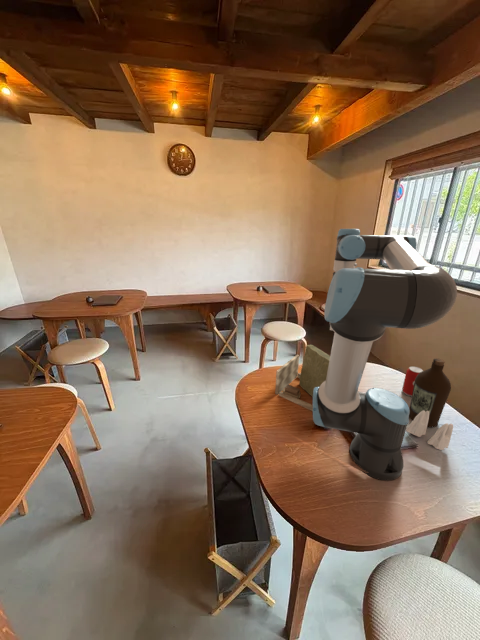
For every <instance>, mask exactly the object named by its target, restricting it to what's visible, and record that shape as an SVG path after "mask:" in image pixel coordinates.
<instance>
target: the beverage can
mask: <svg viewBox="0 0 480 640" xmlns="http://www.w3.org/2000/svg"><path fill="white" fill-rule="evenodd" d="M422 371H424V370H423V369H422V368H421V367H419V366H409V367H408V368H407V369H406V371H405V376H404V378H403V379H404V380H403V385H402V389H401V390H402V392H403V394H405V395H406V396H408V397H411V398H412V393H413V388H414V382H415V378H416V377H417V375H418V374H419V373H420V372H422Z"/></svg>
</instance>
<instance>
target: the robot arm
mask: <svg viewBox="0 0 480 640" xmlns="http://www.w3.org/2000/svg"><path fill="white" fill-rule="evenodd" d="M417 245H418V243H417V239H416V237H415V236H413V235H405V234H400V235H398V234H397V235H396V234H395V235H393V234H392V235H391V234H390V235H388V234H387V235H384V234H383V235H382V234H381V235H379V234H378V235H377V234H371V235H370V234H361V230H360V229H359V228H340V229H338V232H337V237H336V245H335V246H336V247H335V255H334V260H333V261H334V262H333V267H332V268H333V272H332V277H331V278H332V279H331V282H330V283H329V288H328V291H327V295H326V301H325V306H324V320H325V322H327V323H328V322H329V331H333V332H334V333H333V338H332V346H331V350H330V354H329V356H330V360H329V366H328V371H327V377H326V381H324V382H323V383H322V384H321V385H320V387H315V388H314V390H313V397H312V405H313V411H312V421H313V422H314V424H315V425H317V426H320V427H323V428H325V429H328V428H329V429H333V430H339V431H345V432H349V433H350V432H351V433H356V435H355V436H354V438H353V439H352V440H351V443H350V447H349V453H350V454H349V455H350V457H351V458H352V460H353V462H354V463H355V464H356V465H357V466H358V467H359V468H360V469H362V470H361V472H362V473H364V474H365V475H368V476H369V477H372V478H373V479H377V480H381V481H393V480H396V479H398V478H399V477H401V475H402V473H403V469H404V458H403V452H402V446H403V441H404V437H405V434H406V432H407V431H406V428H407V427H408V425H409V421H410V420H409V419H410V417H409V413H410V410H409V408H410V406H409V405H408V403H407V402H406V400H404V399H403V398H402V397H401V396H399V395H398V394H396V393H395V392H392V391H390V390H388V389H386V388H385V389H384V388H380V387H371V388H368V390H366V392H365V394H361V393H359V392H360V391H359V392H358V390H359V387H360V384H361V381H362V378H363V374H364V372H365V371H364V370H365V368H366V365H367V361H368V360H369V356H370V352H371V349H372V347H373V343H374V342H375V341H377V340H380V339H381V338H382V337H383V336H384V334H385V332H386V329H387V328H395V329H406V330H415V329H421V328H424V327H425V328H426V327H428V326H431V325H433V324H435V323H437V322H438V321H440V320H442V319H443V318H445V316H446V315H447V314H449V313H450V311H451V310H452V309H453V307H454V305H455V303H456V300H457V295H458V289H457V287H458V286H457V284H456V282H455V280H454V278H453V277H452V276H451V274H449V273H448V272H447V270H445V269H444V268H442V267H441V266H438V265H435V264H431V263H430V262H428V261H427V259H426V258H424V256H423V255H421V253H419V252H418V251H417ZM357 260H384V261H385V263H386V265H387V266H388V268H389V269H385V268H384V269H383V268H382V269H381V268H363V267H359V266H358V263H357ZM357 266H358V267H357Z"/></svg>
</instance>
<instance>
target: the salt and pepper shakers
mask: <svg viewBox="0 0 480 640" xmlns="http://www.w3.org/2000/svg"><path fill="white" fill-rule="evenodd" d="M428 420H429V411H426V412H425V410H423V411H421V412H420V413H419V414H418V415H417V416H416V417H415V418H414V420H413V421H412V420H411V422H410V424H408V425H407V427H406V431H405V432H407V433H409V434H412V435H414V436H416V437H418V438H421V437H422V436H425V435H426V433H427V429H428V427H427V425H428ZM453 429H454V424H452V423H448V422H446V423H444V424H442V425H441V426H439V428H438V429H436V431H435V433H434V434H433V435H432V436H431V438H429V439H428V440H427V442H426V443H427V444H428V445H431V446H433V447H434V448H435V449H437V450H439V451H445V449H448V448H449V446H450V441H451V437H452V434H453V431H454V430H453Z"/></svg>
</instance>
